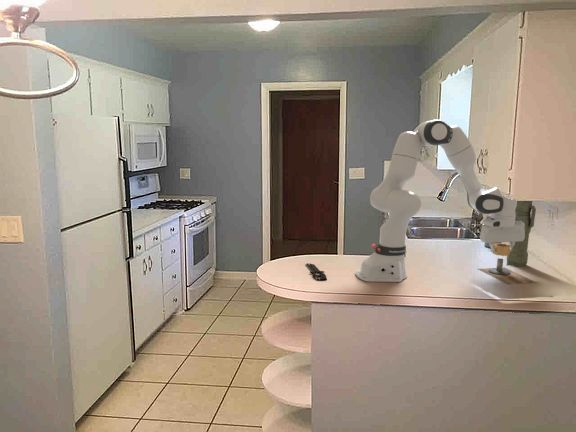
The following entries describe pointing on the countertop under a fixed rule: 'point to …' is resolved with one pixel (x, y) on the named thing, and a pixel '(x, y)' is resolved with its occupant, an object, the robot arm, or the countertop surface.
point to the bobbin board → (506, 274)
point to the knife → (314, 268)
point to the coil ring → (502, 249)
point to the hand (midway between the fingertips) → (501, 251)
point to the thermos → (520, 248)
